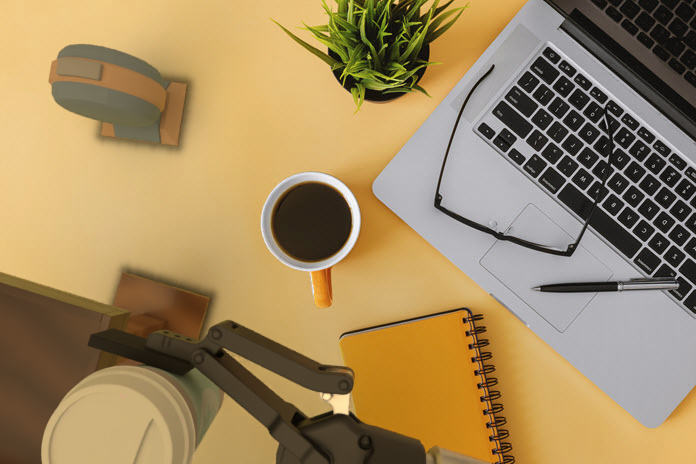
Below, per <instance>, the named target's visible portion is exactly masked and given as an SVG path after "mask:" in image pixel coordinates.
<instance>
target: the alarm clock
mask: <svg viewBox="0 0 696 464" xmlns="http://www.w3.org/2000/svg"><path fill="white" fill-rule="evenodd" d="M49 69H50V70H49V74H48V75H49V76H48V84H50V86H51V96H52V98H53V101H54V102H55V103H56V104H57V105H58V106H60V107H61V108H63V109H64V110H66V111H68V112H70V113H73V114H75V115H78V116H81V117H84V118H87V119H90V120H94V121H98V122H102V129H101V136H103V137H112V138H117V139H126V140H133V141H140V142H148V143H155V144H163V145H167V146H176V147H177V146H178V143H179V137H180V131H181V126H182V119H183V112H184V106H185V100H186V94H187V87H188V84H187V83H181V82H175V81H174V82H173V81H170V80H164V79H163V76H162V74H161V72H160V71H159V70H158V69H157V68H156V67H154V66H153V65H152V64H150V63H149V62H147V61H145V60H143V59H141V58H139V57H137V56H134V55H132V54H130V53H127V52H124V51H121V50H118V49H114V48H110V47H106V46H103V45H97V44H89V43H75V44H68V45H65V46H64V47H63V48H62V49H61V50H60V51H58V53H57V56H56V59H54V60H52V61H51V64H50V68H49Z"/></svg>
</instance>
